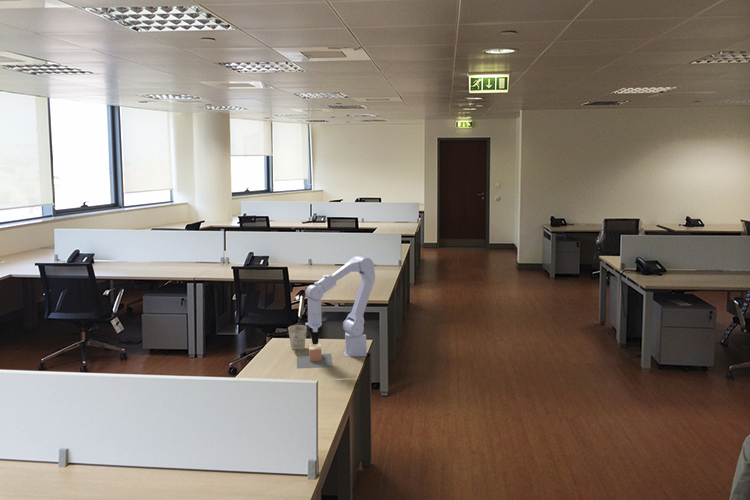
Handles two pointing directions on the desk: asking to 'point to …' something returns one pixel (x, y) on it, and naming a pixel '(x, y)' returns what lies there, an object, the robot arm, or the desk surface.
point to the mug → (297, 336)
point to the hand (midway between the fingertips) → (315, 343)
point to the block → (315, 352)
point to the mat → (305, 362)
